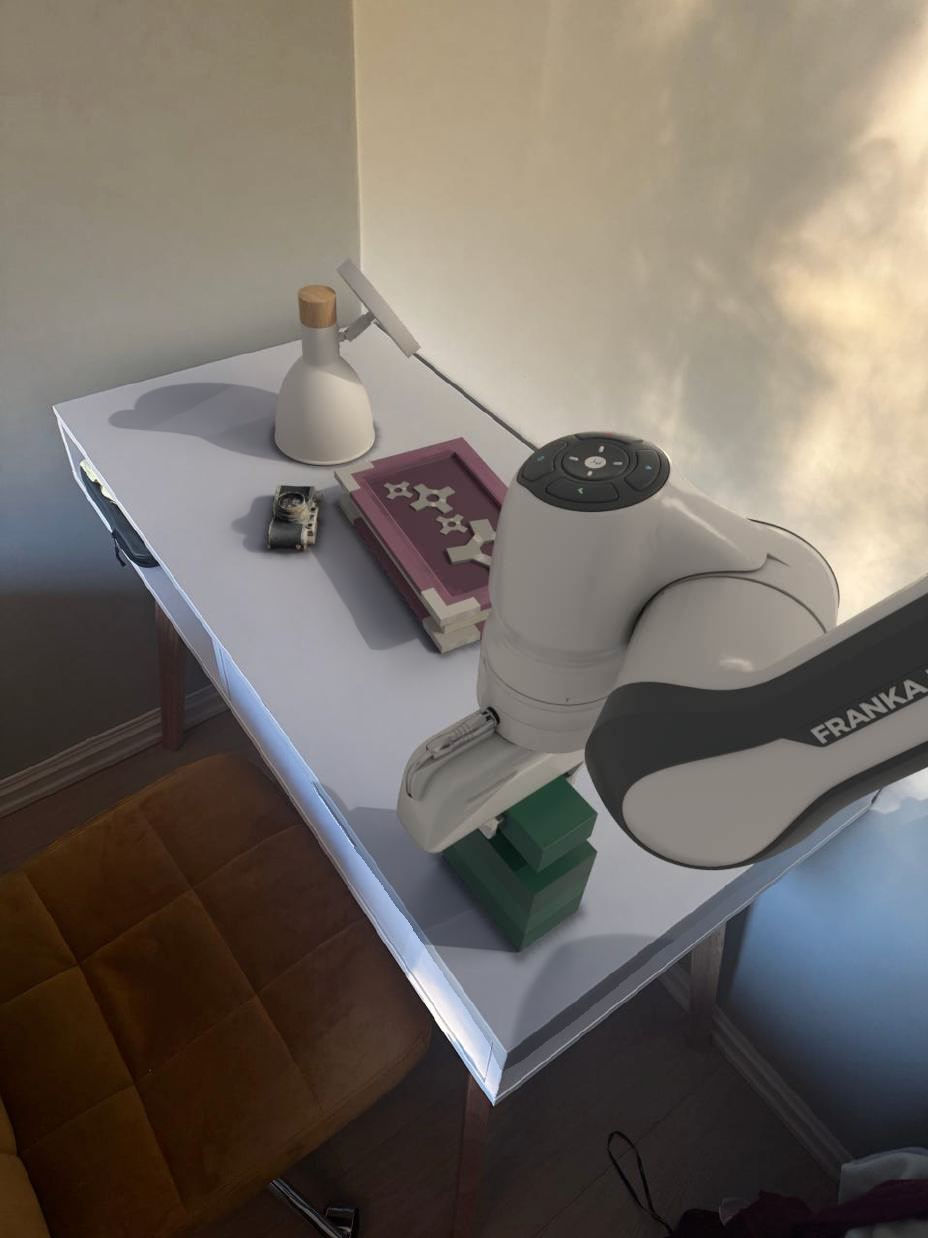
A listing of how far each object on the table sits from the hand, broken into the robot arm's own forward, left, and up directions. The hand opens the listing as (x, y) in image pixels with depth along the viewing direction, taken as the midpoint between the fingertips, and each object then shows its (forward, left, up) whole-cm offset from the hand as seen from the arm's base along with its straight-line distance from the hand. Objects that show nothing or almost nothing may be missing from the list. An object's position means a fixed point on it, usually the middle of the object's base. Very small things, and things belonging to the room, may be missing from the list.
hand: (525, 804), depth 64 cm
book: (+28, -27, -12) cm, 41 cm away
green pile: (0, 0, -11) cm, 11 cm away
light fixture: (+52, -36, -12) cm, 65 cm away
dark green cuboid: (0, 0, -1) cm, 1 cm away
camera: (+44, -20, -12) cm, 49 cm away
